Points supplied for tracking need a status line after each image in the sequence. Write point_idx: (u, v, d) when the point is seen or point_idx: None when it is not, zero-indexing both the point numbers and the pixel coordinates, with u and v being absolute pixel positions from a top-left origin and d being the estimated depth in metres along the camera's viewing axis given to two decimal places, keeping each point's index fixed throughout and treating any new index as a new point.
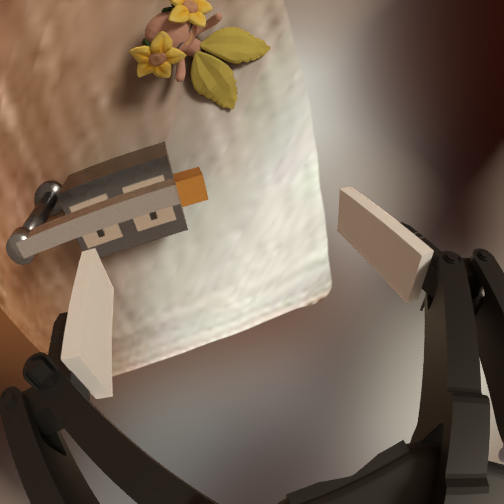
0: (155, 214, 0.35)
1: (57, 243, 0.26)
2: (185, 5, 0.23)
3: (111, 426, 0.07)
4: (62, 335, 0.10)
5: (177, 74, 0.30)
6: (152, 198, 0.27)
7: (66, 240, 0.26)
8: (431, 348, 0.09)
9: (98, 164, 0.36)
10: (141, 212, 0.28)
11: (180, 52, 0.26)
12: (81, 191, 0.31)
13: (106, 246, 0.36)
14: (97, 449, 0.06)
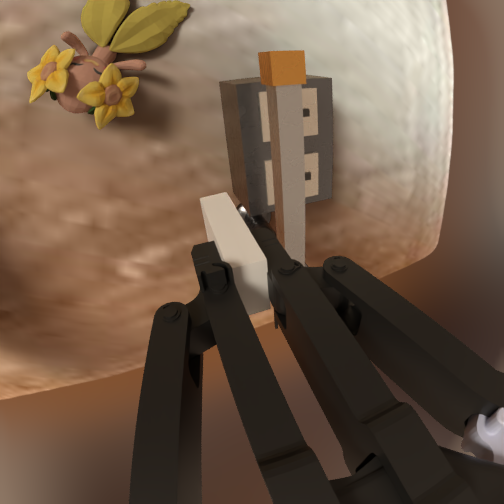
0: (303, 109, 0.27)
1: (303, 237, 0.27)
2: (46, 77, 0.18)
3: (261, 350, 0.08)
4: (207, 259, 0.13)
5: (136, 68, 0.24)
6: (286, 116, 0.21)
7: (303, 226, 0.27)
8: (311, 372, 0.09)
9: (229, 158, 0.35)
10: (299, 133, 0.22)
11: (106, 70, 0.20)
12: (254, 188, 0.31)
13: (322, 173, 0.33)
14: (236, 363, 0.08)
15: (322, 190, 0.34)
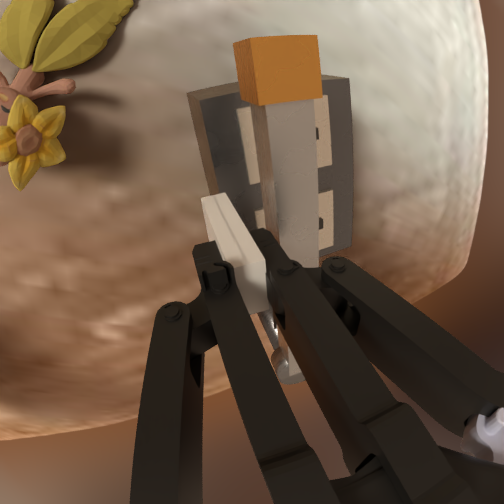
0: None
1: None
2: None
3: (262, 350, 0.08)
4: (208, 259, 0.13)
5: (63, 92, 0.15)
6: (286, 161, 0.12)
7: None
8: (310, 373, 0.09)
9: None
10: (311, 188, 0.13)
11: (13, 106, 0.12)
12: None
13: (339, 216, 0.23)
14: (237, 363, 0.08)
15: (338, 237, 0.25)
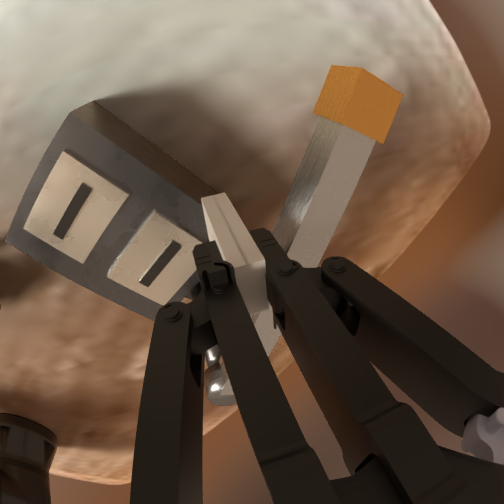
0: (78, 190, 0.16)
1: (267, 352, 0.18)
2: None
3: (263, 350, 0.08)
4: (208, 259, 0.13)
5: None
6: (332, 180, 0.13)
7: (275, 340, 0.18)
8: (310, 373, 0.09)
9: None
10: (337, 214, 0.14)
11: None
12: (131, 301, 0.22)
13: (194, 222, 0.20)
14: (237, 363, 0.08)
15: None
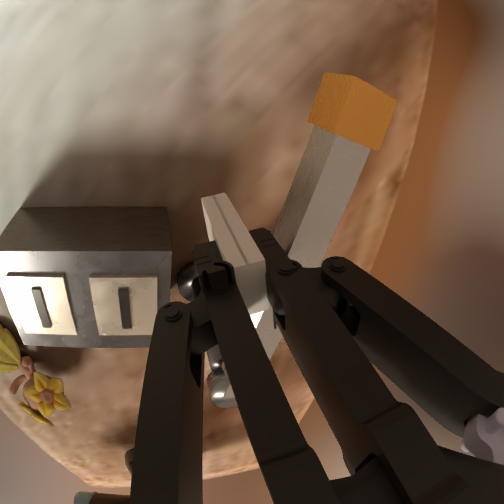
0: (33, 293, 0.18)
1: (268, 357, 0.18)
2: None
3: (263, 350, 0.08)
4: (208, 259, 0.13)
5: (28, 365, 0.26)
6: (327, 190, 0.13)
7: (275, 345, 0.18)
8: (310, 373, 0.09)
9: None
10: (333, 223, 0.14)
11: (29, 397, 0.25)
12: (133, 341, 0.24)
13: (124, 266, 0.20)
14: (237, 363, 0.08)
15: (152, 267, 0.21)
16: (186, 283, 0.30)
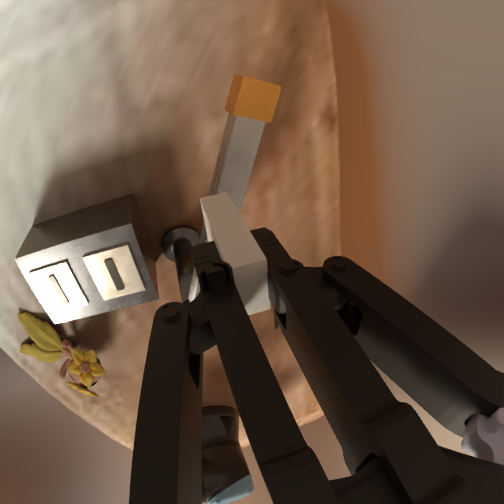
0: (50, 280, 0.27)
1: None
2: None
3: (261, 350, 0.08)
4: (206, 259, 0.13)
5: (67, 346, 0.37)
6: (236, 152, 0.19)
7: None
8: (311, 372, 0.09)
9: None
10: (245, 174, 0.20)
11: (71, 372, 0.36)
12: (130, 300, 0.32)
13: (103, 243, 0.27)
14: (236, 363, 0.08)
15: (122, 238, 0.28)
16: (168, 248, 0.37)
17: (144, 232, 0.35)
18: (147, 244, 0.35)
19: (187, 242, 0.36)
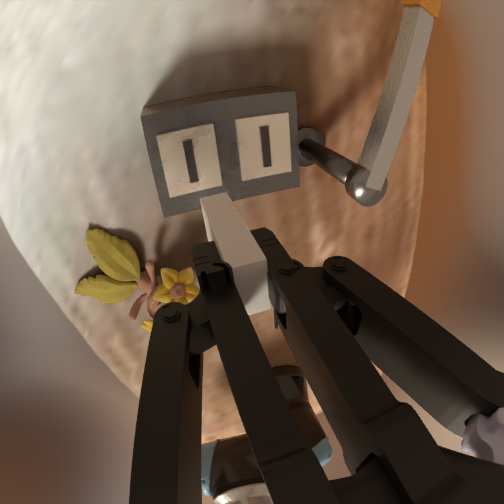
0: (183, 146, 0.25)
1: (397, 142, 0.23)
2: None
3: (261, 350, 0.08)
4: (206, 259, 0.13)
5: (153, 267, 0.35)
6: (420, 30, 0.17)
7: (401, 130, 0.23)
8: (311, 372, 0.09)
9: None
10: (424, 48, 0.19)
11: (158, 300, 0.34)
12: (270, 185, 0.30)
13: (262, 107, 0.25)
14: (236, 363, 0.08)
15: (283, 105, 0.26)
16: None
17: None
18: None
19: None
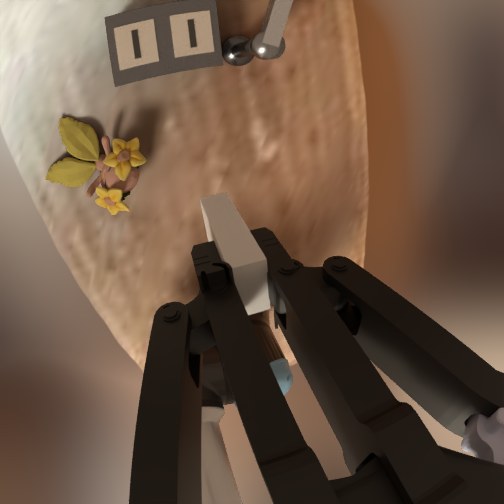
0: (132, 34, 0.28)
1: (287, 11, 0.26)
2: (113, 202, 0.40)
3: (261, 350, 0.08)
4: (207, 259, 0.13)
5: (107, 141, 0.38)
6: None
7: (290, 4, 0.25)
8: (311, 372, 0.09)
9: None
10: None
11: (107, 164, 0.37)
12: (198, 62, 0.33)
13: (190, 7, 0.28)
14: (236, 363, 0.08)
15: (206, 6, 0.28)
16: (227, 50, 0.38)
17: None
18: None
19: None
